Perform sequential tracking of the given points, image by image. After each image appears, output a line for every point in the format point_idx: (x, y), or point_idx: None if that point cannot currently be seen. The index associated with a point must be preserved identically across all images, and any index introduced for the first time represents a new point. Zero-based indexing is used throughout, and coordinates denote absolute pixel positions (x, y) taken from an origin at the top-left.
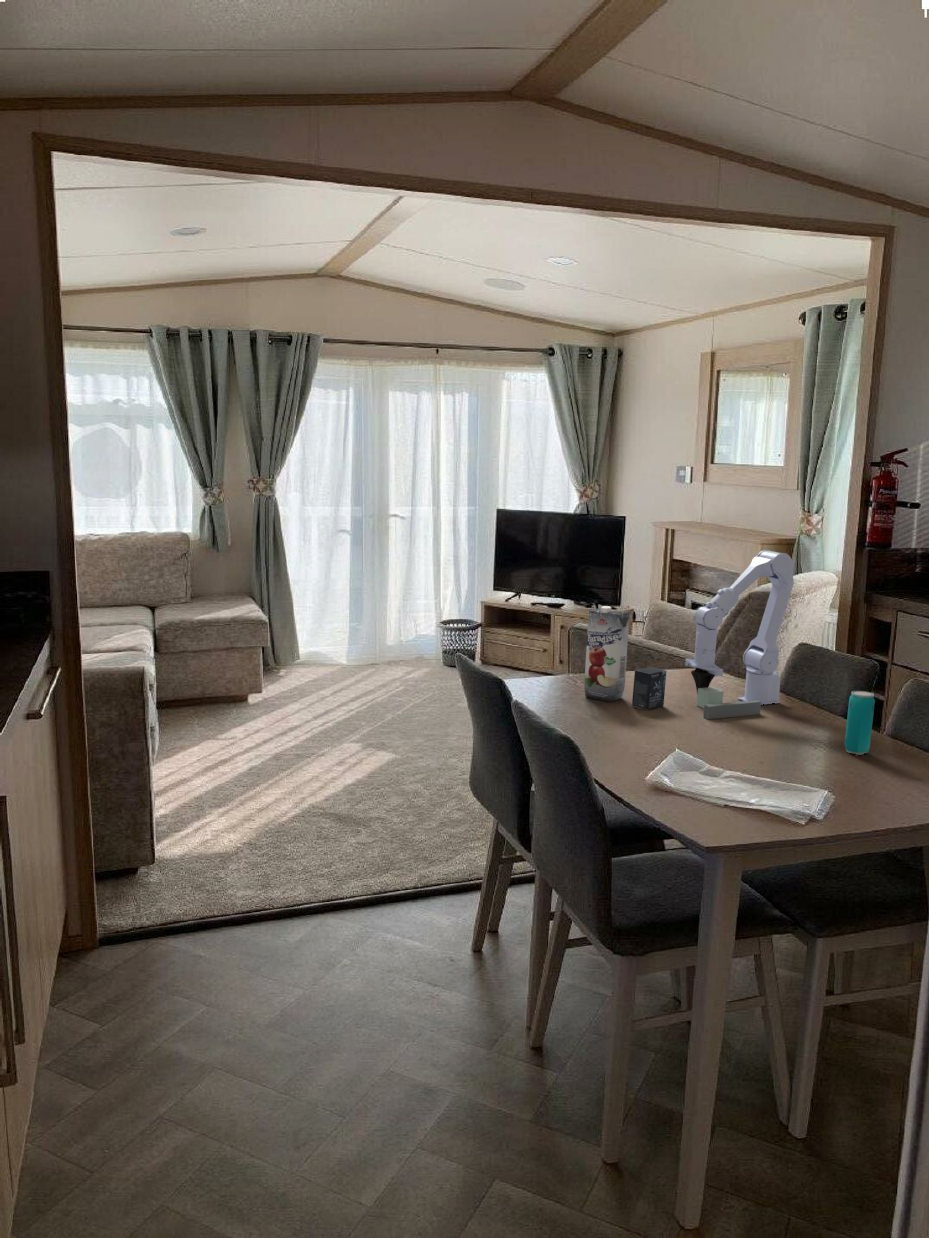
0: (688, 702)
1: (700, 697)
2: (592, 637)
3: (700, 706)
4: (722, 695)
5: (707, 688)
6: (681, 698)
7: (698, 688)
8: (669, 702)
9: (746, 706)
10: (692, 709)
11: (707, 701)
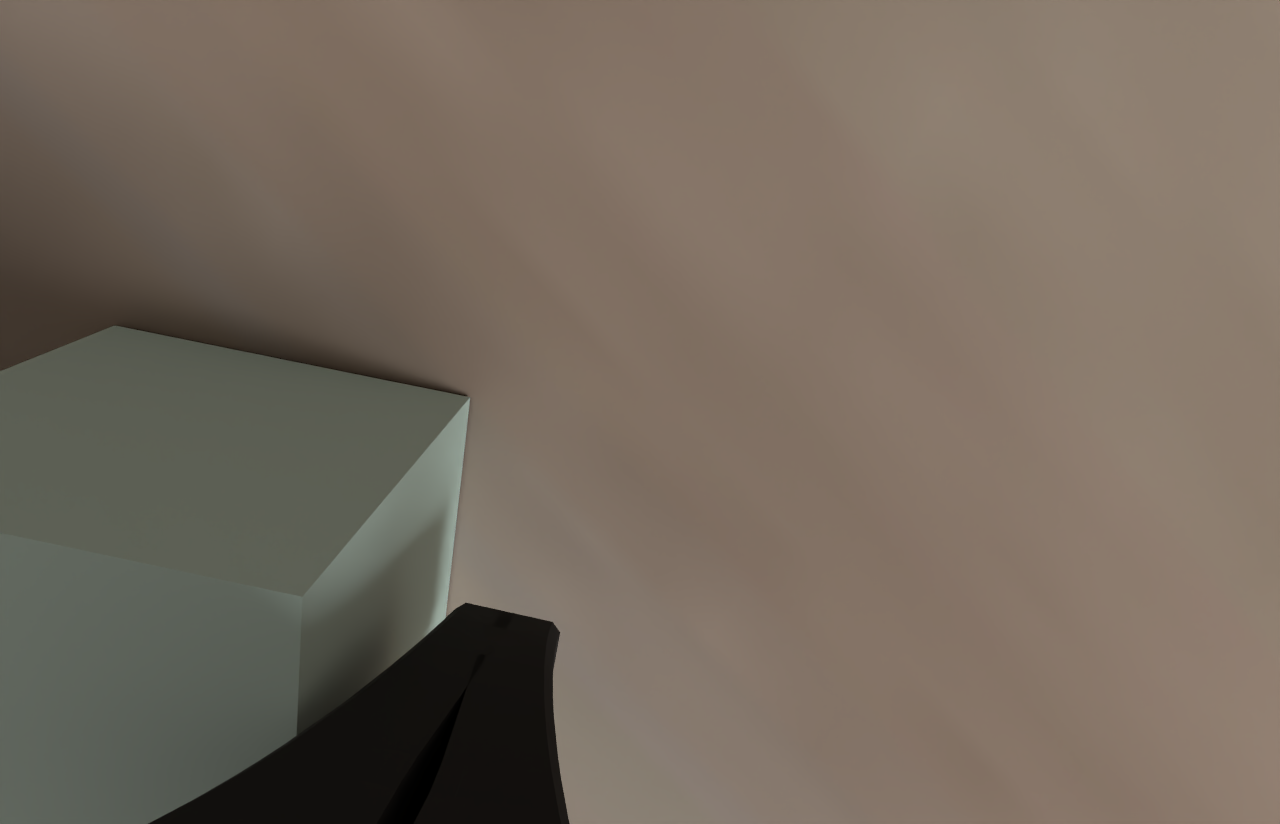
0: (731, 442)
1: (275, 453)
2: None
3: (346, 376)
4: None
5: None
6: (1042, 572)
7: (283, 594)
8: (982, 26)
9: None
10: (242, 33)
11: (26, 385)
